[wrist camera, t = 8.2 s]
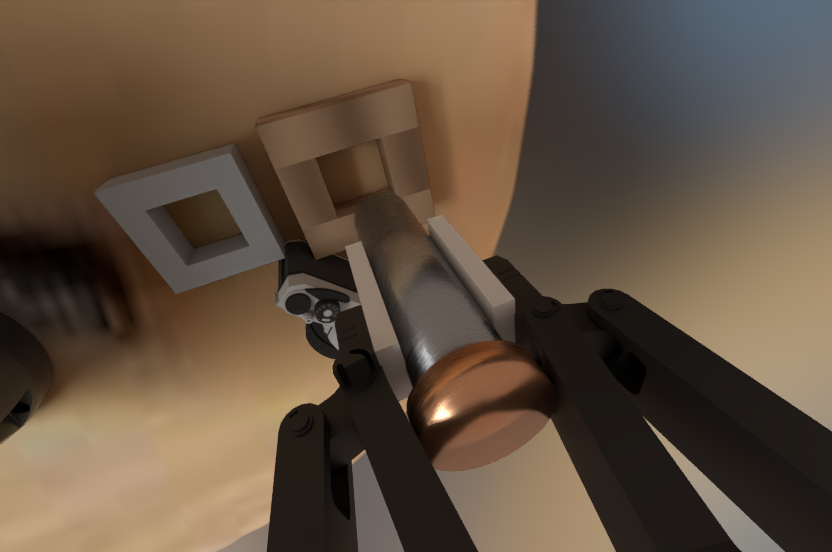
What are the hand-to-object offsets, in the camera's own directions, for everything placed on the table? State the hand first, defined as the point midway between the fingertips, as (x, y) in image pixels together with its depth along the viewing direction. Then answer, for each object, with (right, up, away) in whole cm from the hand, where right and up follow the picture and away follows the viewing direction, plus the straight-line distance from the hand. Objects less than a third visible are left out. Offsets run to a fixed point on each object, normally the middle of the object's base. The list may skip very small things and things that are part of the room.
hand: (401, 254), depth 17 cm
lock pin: (-1, +2, +3) cm, 4 cm away
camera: (-7, -2, +16) cm, 18 cm away
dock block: (-4, +7, +10) cm, 13 cm away
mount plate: (-14, +3, +9) cm, 17 cm away
